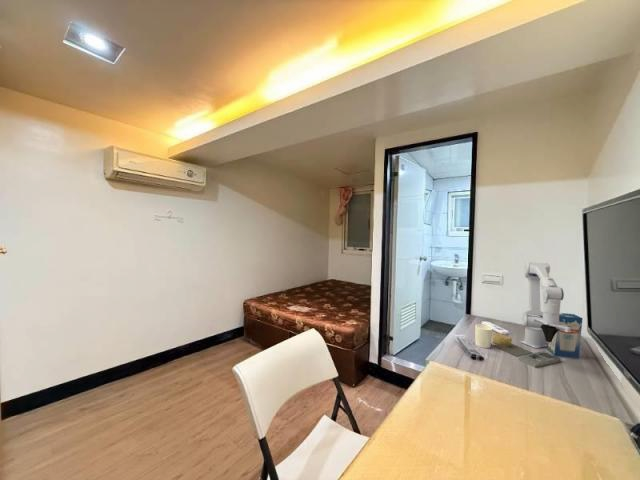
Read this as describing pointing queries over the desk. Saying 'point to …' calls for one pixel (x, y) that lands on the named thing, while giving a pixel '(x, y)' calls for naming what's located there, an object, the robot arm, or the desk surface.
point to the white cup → (483, 335)
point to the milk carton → (567, 337)
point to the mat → (514, 350)
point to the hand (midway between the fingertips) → (548, 341)
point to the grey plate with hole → (543, 356)
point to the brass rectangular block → (502, 340)
